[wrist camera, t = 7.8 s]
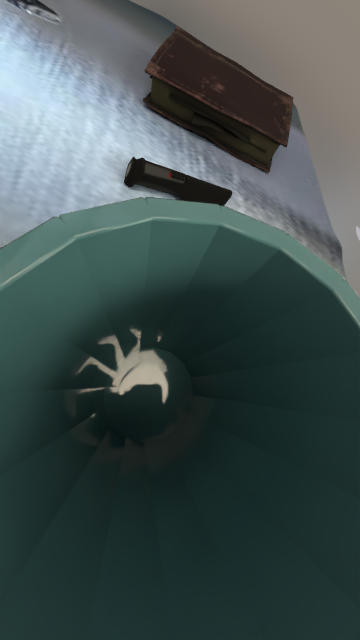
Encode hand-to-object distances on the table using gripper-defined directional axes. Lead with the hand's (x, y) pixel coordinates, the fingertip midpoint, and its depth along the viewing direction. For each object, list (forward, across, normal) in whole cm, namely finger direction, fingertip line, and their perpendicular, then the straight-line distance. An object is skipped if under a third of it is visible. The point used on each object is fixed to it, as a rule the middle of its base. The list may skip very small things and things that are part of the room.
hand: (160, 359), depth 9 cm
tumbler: (+4, 0, +6) cm, 7 cm away
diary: (+44, -13, -25) cm, 52 cm away
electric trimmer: (+28, -4, -9) cm, 30 cm away
